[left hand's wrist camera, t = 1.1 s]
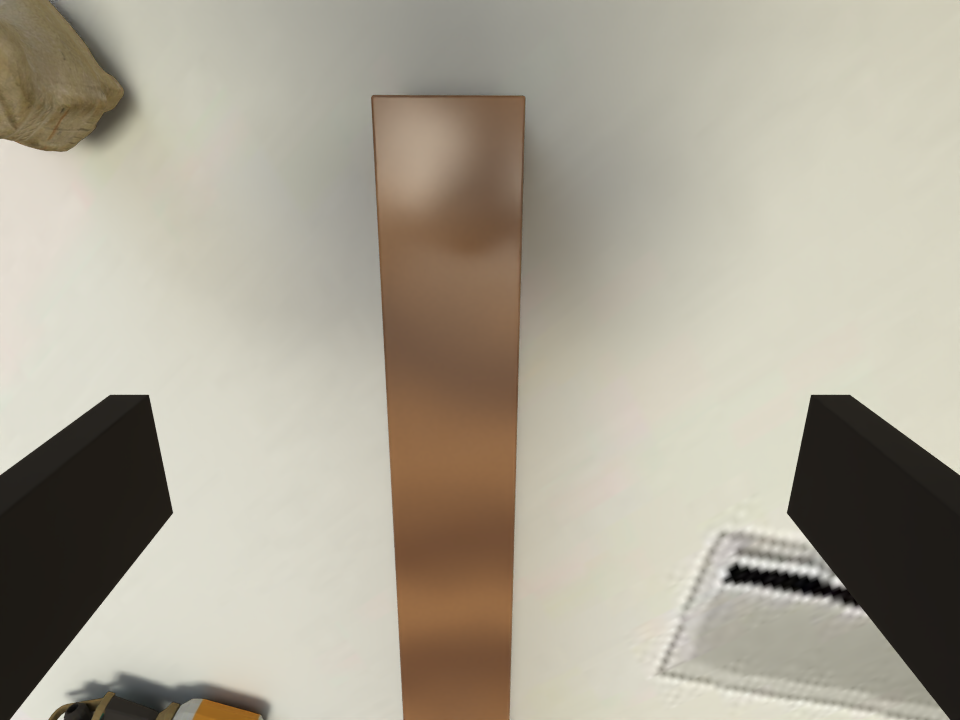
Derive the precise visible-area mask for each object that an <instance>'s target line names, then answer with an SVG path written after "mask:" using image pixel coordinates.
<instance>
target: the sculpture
mask: <svg viewBox="0 0 960 720" xmlns="http://www.w3.org/2000/svg"><path fill="white" fill-rule="evenodd" d="M123 95H124V90H123V88H122V86H121V85H120V84H119V83H118V81H117V80H116V79H115V78H114V77H113V76H112V75H110V74H107V73H106V72H105V71H104V70H103V69H102V68H101V67H100V66H99V65H98V63H97V62H96V60H95V59H94V57H93V55H92V54H91V52H90V50H89V49H88V47H87V46H86V44H85V43H84V42H83V40H82V39H81V38H80V37H79V35H78V34H77V33H76V32H75V31H74V29H73V28H72V27H71V26H70V24H69V23H68V22H67V21H66V20H65V19H64V18H63V16H62V15H61V14H60V13H59V12H58V11H57V10H56V8H55V7H54V6H53V5H52V4H51V3H50V2H49V1H48V0H0V139H7V140H11V141H15V142H17V143H20V144H22V145H25V146H28V147H31V148H35V149H39V150H44V151H59V152H63V151H68V150H69V149H71V148H73V147H74V146H75V145H77V143H78V142H79V141H80V140H82V139H84V138H85V137H86V136H88V135H89V134H90V133H91V132H92V131H93V130H94V129H95V128H96V123H97V122H98V121H99V119H100V118H101V117H102V115H103V113H104V112H108V111H110V110H112V109H114V108H115V106H116V105H117V104H118V102H119V101H120V99H121V98H122V97H123Z"/></svg>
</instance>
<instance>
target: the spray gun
mask: <svg viewBox="0 0 960 720" xmlns="http://www.w3.org/2000/svg"><path fill="white" fill-rule="evenodd" d="M64 712H65V716H64V720H263V717H262V716H261V715H260V714H256V713H253V712H249V711H246V710H242V709H238V708H235V707H231V706H228V705H224V704H221V703H217V702H213V701H210V700H206V699H191V700H189V701H188V702H186V703H184V704H182V705H181V706H180V704H178V703H174V702H173V703H171V704H170V705H169V706H168V707H167V708H166V709H165V710H163V711H162V712H160V713H159V715H158V712H156V711H155V710H153V709H150V708H148V707H145V706H142V705H139V704H137V703H134V702H131V701H128V700H126V699H123V698H120V697H117V696H115V693H113V692H107V693H106V695H105V696H104V698H99V699H94V700H88V701H82V702H76V703H70V704H66V705H63V706H61V707H60V708H58V709H57V710H56V711H55V712H54V713H53V714H52V715H51V717H50V718H49V720H57V719H58V718H59V717H60V716H61V715H62V714H63V713H64Z"/></svg>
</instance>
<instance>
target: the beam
mask: <svg viewBox="0 0 960 720" xmlns="http://www.w3.org/2000/svg"><path fill="white" fill-rule="evenodd" d="M371 104H372V124H373V143H374V162H375V181H376V200H377V220H378V239H379V258H380V277H381V297H382V316H383V335H384V354H385V374H386V393H387V412H388V431H389V451H390V470H391V489H392V508H393V528H394V547H395V566H396V585H397V604H398V624H399V643H400V662H401V681H402V701H403V720H509V718H510V679H511V640H512V601H513V562H514V523H515V484H516V445H517V407H518V368H519V329H520V290H521V251H522V212H523V173H524V134H525V96H498V95H373V96H372V97H371Z"/></svg>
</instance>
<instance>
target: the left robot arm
mask: <svg viewBox="0 0 960 720" xmlns="http://www.w3.org/2000/svg"><path fill="white" fill-rule="evenodd" d="M172 514H173V511H172V506H171V501H170V496H169V491H168V486H167V481H166V476H165V471H164V467H163V462H162V457H161V452H160V447H159V442H158V437H157V432H156V427H155V423H154V418H153V413H152V408H151V403H150V398H149V395H109V396H108V397H107V398H105V399H104V400H103V401H101V402H100V403H98V404H97V405H96V406H94V407H93V408H92V409H90V410H89V411H87V412H86V413H85V414H83V415H82V416H81V417H79V418H78V419H77V420H75V421H74V422H72V423H71V424H70V425H68V426H67V427H66V428H64V429H63V430H62V431H60V432H59V433H57V434H56V435H55V436H53V437H52V438H51V439H49V440H48V441H46V442H45V443H44V444H42V445H41V446H40V447H38V448H37V449H36V450H34V451H33V452H31V453H30V454H29V455H27V456H26V457H25V458H23V459H22V460H20V461H19V462H18V463H16V464H15V465H14V466H12V467H11V468H10V469H8V470H7V471H5V472H4V473H3V474H1V475H0V720H10V719H11V717H12V716H13V715H14V714H15V712H16V711H17V710H18V709H19V707H20V706H21V705H22V704H23V702H24V701H25V700H26V698H27V697H28V696H29V695H30V693H31V692H32V691H33V690H34V688H35V687H36V686H37V685H38V683H39V682H40V681H41V679H42V678H43V677H44V676H45V674H46V673H47V672H48V671H49V669H50V668H51V667H52V666H53V664H54V663H55V662H56V661H57V659H58V658H59V657H60V655H61V654H62V653H63V652H64V650H65V649H66V648H67V647H68V645H69V644H70V643H71V642H72V640H73V639H74V638H75V636H76V635H77V634H78V633H79V631H80V630H81V629H82V628H83V626H84V625H85V624H86V623H87V621H88V620H89V619H90V617H91V616H92V615H93V614H94V612H95V611H96V610H97V609H98V607H99V606H100V605H101V604H102V602H103V601H104V600H105V598H106V597H107V596H108V595H109V593H110V592H111V591H112V590H113V588H114V587H115V586H116V585H117V583H118V582H119V581H120V579H121V578H122V577H123V576H124V574H125V573H126V572H127V571H128V569H129V568H130V567H131V566H132V564H133V563H134V562H135V561H136V559H137V558H138V557H139V555H140V554H141V553H142V552H143V550H144V549H145V548H146V547H147V545H148V544H149V543H150V542H151V540H152V539H153V538H154V536H155V535H156V534H157V533H158V531H159V530H160V529H161V528H162V526H163V525H164V524H165V523H166V521H167V520H168V519H169V517H170V516H171V515H172ZM787 514H788V515H789V516H790V517H791V519H792V520H793V521H794V523H795V524H796V525H797V526H798V528H799V529H800V530H801V531H802V533H803V534H804V535H805V536H806V538H807V539H808V540H809V542H810V543H811V544H812V545H813V547H814V548H815V549H816V550H817V552H818V553H819V554H820V555H821V557H822V558H823V559H824V561H825V562H826V563H827V564H828V566H829V567H830V568H831V569H832V571H833V572H834V573H835V574H836V576H837V577H838V578H839V579H840V581H841V582H842V583H843V585H844V586H845V587H846V588H847V590H848V591H849V592H850V593H851V595H852V596H853V597H854V598H855V600H856V601H857V602H858V604H859V605H860V606H861V607H862V609H863V610H864V611H865V612H866V614H867V615H868V616H869V617H870V619H871V620H872V621H873V623H874V624H875V625H876V626H877V628H878V629H879V630H880V631H881V633H882V634H883V635H884V636H885V638H886V639H887V640H888V642H889V643H890V644H891V645H892V647H893V648H894V649H895V650H896V652H897V653H898V654H899V655H900V657H901V658H902V659H903V661H904V662H905V663H906V664H907V666H908V667H909V668H910V669H911V671H912V672H913V673H914V674H915V676H916V677H917V678H918V679H919V681H920V682H921V683H922V685H923V686H924V687H925V688H926V690H927V691H928V692H929V693H930V695H931V696H932V697H933V698H934V700H935V701H936V702H937V704H938V705H939V706H940V707H941V709H942V710H943V711H944V712H945V714H946V715H947V716H948V717H949V719H950V720H960V475H959V474H957V473H956V472H955V471H953V470H952V469H950V468H949V467H948V466H946V465H945V464H944V463H942V462H941V461H940V460H938V459H937V458H935V457H934V456H933V455H931V454H930V453H929V452H927V451H926V450H924V449H923V448H922V447H920V446H919V445H918V444H916V443H915V442H914V441H912V440H911V439H909V438H908V437H907V436H905V435H904V434H903V433H901V432H900V431H898V430H897V429H896V428H894V427H893V426H892V425H890V424H889V423H888V422H886V421H885V420H883V419H882V418H881V417H879V416H878V415H877V414H875V413H874V412H873V411H871V410H870V409H868V408H867V407H866V406H864V405H863V404H862V403H860V402H859V401H857V400H856V399H855V398H853V397H852V396H851V395H811V398H810V403H809V408H808V413H807V418H806V423H805V427H804V432H803V437H802V442H801V447H800V452H799V457H798V462H797V467H796V471H795V476H794V481H793V486H792V491H791V496H790V501H789V506H788V511H787Z"/></svg>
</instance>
